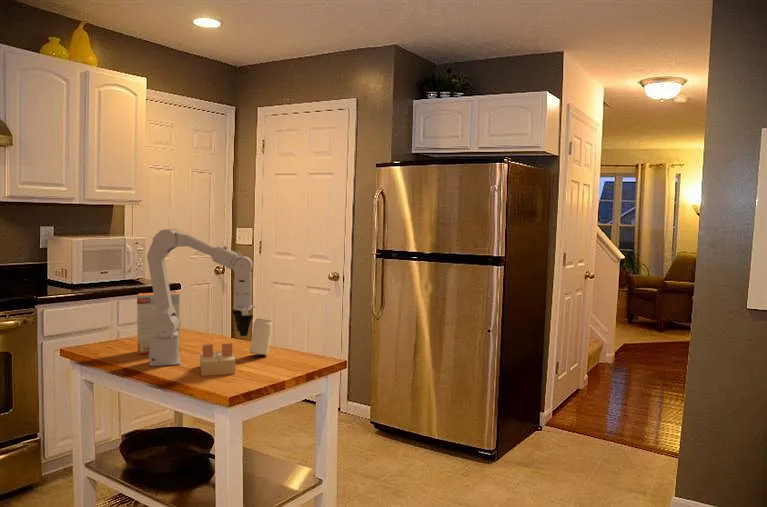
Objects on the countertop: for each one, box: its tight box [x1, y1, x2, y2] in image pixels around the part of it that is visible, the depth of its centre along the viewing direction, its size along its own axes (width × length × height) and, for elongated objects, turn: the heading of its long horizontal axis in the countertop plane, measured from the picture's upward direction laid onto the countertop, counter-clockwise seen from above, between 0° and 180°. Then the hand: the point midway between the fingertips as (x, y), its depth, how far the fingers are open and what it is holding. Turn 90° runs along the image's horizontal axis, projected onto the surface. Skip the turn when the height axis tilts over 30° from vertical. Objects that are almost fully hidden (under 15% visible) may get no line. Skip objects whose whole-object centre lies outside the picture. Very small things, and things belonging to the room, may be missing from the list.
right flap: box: [215, 342, 236, 362], centre depth 193 cm, size 5×12×4 cm, turn 19°
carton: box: [199, 353, 236, 377], centre depth 193 cm, size 10×12×4 cm
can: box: [249, 318, 273, 356], centre depth 213 cm, size 6×6×12 cm
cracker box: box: [136, 291, 181, 355], centre depth 215 cm, size 14×6×21 cm, turn 108°
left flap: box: [200, 344, 218, 363], centre depth 192 cm, size 5×12×4 cm, turn 19°
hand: (242, 333), depth 202 cm, fingers open, 7 cm apart
